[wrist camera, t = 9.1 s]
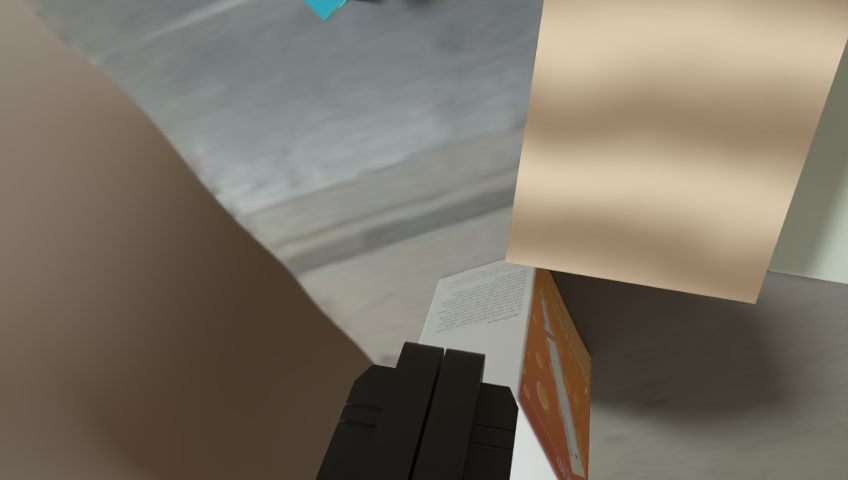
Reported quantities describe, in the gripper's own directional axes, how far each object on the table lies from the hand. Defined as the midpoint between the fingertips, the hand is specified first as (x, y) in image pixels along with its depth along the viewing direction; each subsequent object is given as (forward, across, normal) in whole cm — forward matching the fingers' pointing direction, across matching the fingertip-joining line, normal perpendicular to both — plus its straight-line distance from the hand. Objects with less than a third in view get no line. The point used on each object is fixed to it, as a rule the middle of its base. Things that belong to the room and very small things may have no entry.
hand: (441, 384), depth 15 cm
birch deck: (+26, -6, +3) cm, 27 cm away
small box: (+26, -1, +18) cm, 32 cm away
